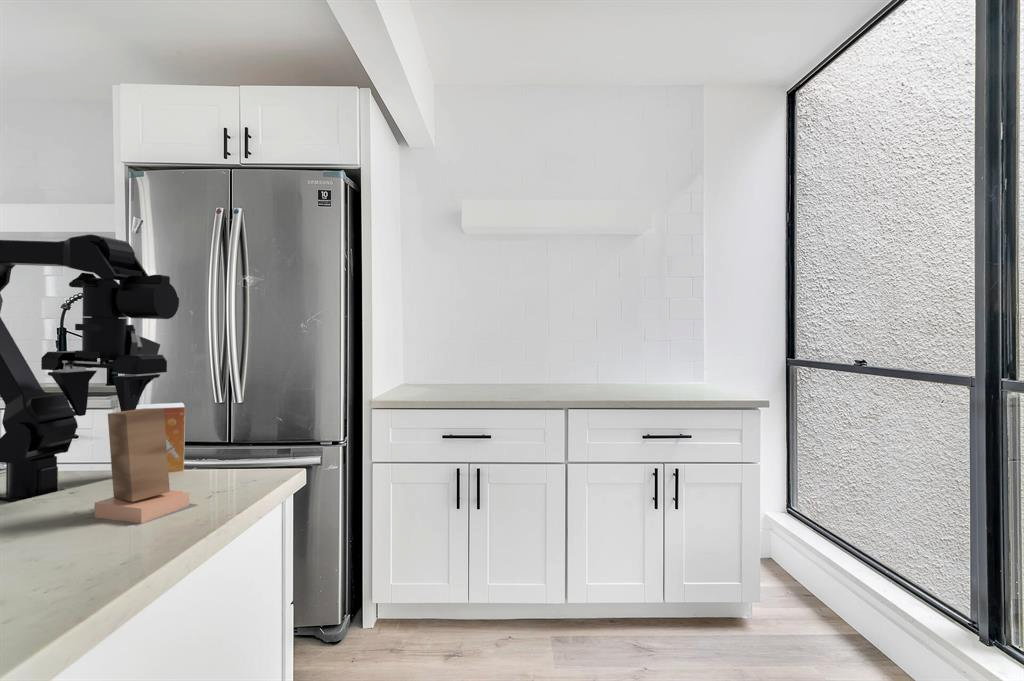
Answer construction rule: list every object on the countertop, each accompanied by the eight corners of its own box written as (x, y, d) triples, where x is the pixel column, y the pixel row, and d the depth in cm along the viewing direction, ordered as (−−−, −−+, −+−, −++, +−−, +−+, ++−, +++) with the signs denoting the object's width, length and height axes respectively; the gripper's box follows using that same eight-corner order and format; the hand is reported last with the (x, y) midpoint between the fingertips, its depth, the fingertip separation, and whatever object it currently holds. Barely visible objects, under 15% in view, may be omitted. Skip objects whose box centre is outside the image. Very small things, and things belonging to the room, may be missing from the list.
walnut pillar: (113, 498, 81) (107, 413, 81) (150, 488, 85) (145, 408, 85) (132, 501, 78) (126, 414, 78) (169, 491, 83) (163, 408, 83)
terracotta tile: (94, 517, 79) (94, 502, 79) (145, 500, 87) (145, 487, 87) (141, 523, 77) (141, 508, 77) (189, 505, 85) (189, 492, 85)
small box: (131, 483, 100) (132, 408, 100) (131, 475, 105) (132, 404, 105) (184, 477, 104) (185, 406, 104) (182, 470, 110) (183, 402, 109)
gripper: (195, 320, 95) (194, 414, 95) (106, 317, 100) (105, 407, 100) (135, 318, 84) (134, 424, 85) (39, 316, 89) (38, 416, 89)
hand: (104, 417), depth 90 cm, fingers open, 9 cm apart
